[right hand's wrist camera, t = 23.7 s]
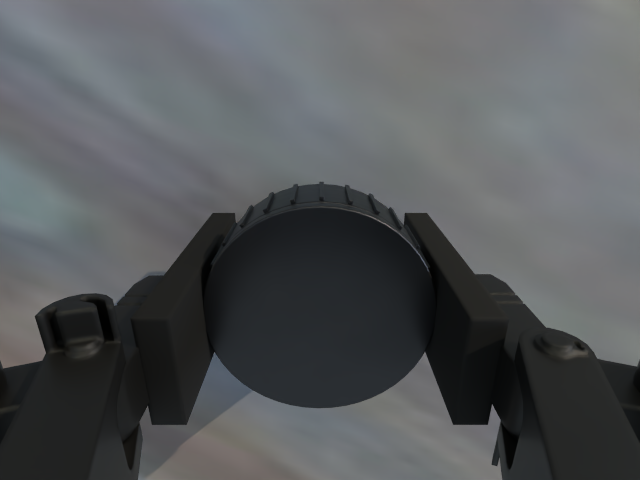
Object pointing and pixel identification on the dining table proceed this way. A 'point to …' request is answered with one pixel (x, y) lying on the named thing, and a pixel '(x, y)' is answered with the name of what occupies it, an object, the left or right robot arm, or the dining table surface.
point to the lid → (319, 297)
